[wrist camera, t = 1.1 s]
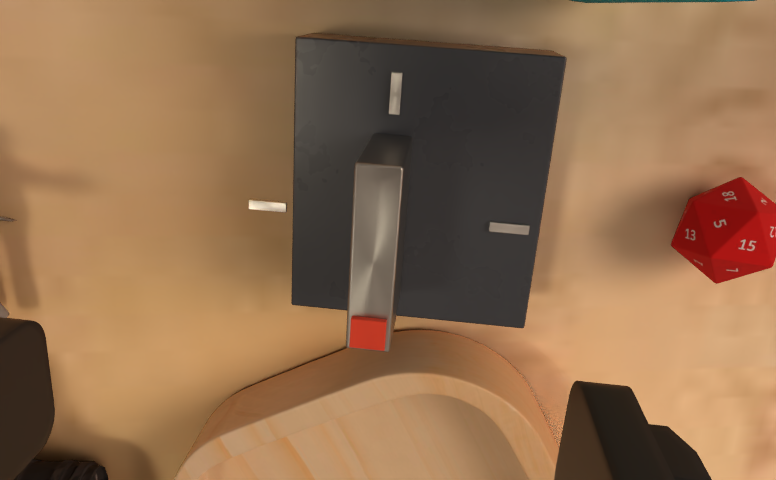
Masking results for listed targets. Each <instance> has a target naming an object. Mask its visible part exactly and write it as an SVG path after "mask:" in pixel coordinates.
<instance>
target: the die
mask: <svg viewBox="0 0 776 480" xmlns="http://www.w3.org/2000/svg"><path fill="white" fill-rule="evenodd" d="M671 246H672V247H673V248H674V249H676V250H677V251H678V252H679V253H680V254H681V255H683V256H684V257H685V258H686V259H687V260H688V261H690V262H691V263H692V264H693V265H694V266H695V267H697V268H698V269H699V270H700V271H701V272H703V273H704V274H705V275H706V276H707V277H708V278H710V279H711V280H712V281H713V282H714V283H721V282H724V281H728V280H731V279H734V278H738V277H741V276H744V275H748V274H751V273H754V272H758V271H761V270H765V269H768V268H771V267H772V266H773V264H774V261H775V258H776V204H775V203H774V202H772V201H771V200H770V199H769V198H767V197H766V196H765V195H764V194H762V193H761V192H760V191H759V190H757V189H756V188H755V187H754V186H752V185H751V184H750V183H749V182H747V181H746V180H745V179H744V178H742V177H739V178H736V179H734V180H732V181H729V182H727V183H725V184H722V185H720V186H718V187H715V188H713V189H711V190H708V191H706V192H704V193H701V194H699V195H697V196H694V197H692V198H690V199H689V200H688V203H687V205H686V208H685V210H684V213H683V215H682V218H681V220H680V223H679V225H678V228H677V230H676V233H675V235H674V238H673V240H672V243H671Z"/></svg>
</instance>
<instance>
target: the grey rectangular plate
mask: <svg viewBox="0 0 776 480" xmlns="http://www.w3.org/2000/svg"><path fill="white" fill-rule="evenodd" d="M412 141H413V139H412V137H410V136H400V135H388V134H376V133H375V134H373V135H372V137H371V139H370V140H369V142H368V143H367V145H366V147H365V148H364V150H363V152H362V153H361V155H360V157H359V158H358V160H357V162H356V163H355V169H354V190H353V210H352V230H351V251H350V271H349V292H348V312H347V332H346V347H347V348H352V349H362V350H371V351H381V352H389V351H390V347H391V341H392V336H393V330H394V325H395V319H396V314H397V308H398V303H399V297H400V291H401V278H402V266H403V253H404V241H405V228H406V216H407V203H408V191H409V178H410V166H411V153H412Z"/></svg>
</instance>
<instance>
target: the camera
mask: <svg viewBox="0 0 776 480" xmlns="http://www.w3.org/2000/svg"><path fill="white" fill-rule="evenodd" d="M14 480H108V476H107V473H106V470H105V467H103V466H100V465H98V464H97V463H96V462H94V461H85V462H78V461H76V460H64V461H63V462H47V461H41V460H37V459H32V460H31V462H30V463H29V464H28V465H27V466H26V467H25V468H24V469H23V470H22V471H21V472H20V473H19V474H18V475H17V476H16V478H15V479H14Z"/></svg>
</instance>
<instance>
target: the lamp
mask: <svg viewBox="0 0 776 480" xmlns="http://www.w3.org/2000/svg"><path fill="white" fill-rule="evenodd" d="M558 453H559V447H558V445H557V443H556V441H555V438H554V436H553V434H552V432H551V430H550V428H549V426H548V424H547V422H546V420H545V418H544V415H543V413H542V411H541V409H540V407H539V405H538V403H537V401H536V399H535V397H534V395H533V393H532V391H531V389H530V387H529V386H528V384H527V383H526V381H525V380H524V378H523V377H522V376H521V375H520V374H519V372H518V371H517V370H516V369H515V368H514V367H513V366H512V365H511V364H510V363H509V362H507V361H506V360H505V359H504V358H503V357H501V356H500V355H499V354H497V353H496V352H494V351H493V350H491V349H489V348H488V347H486V346H484V345H482V344H480V343H478V342H476V341H473V340H471V339H468V338H466V337H462V336H459V335H456V334H451V333H447V332H441V331H433V330H408V331H399V332H393V336H392V341H391V347H390V351H389V352H381V351H371V350H362V349H352V348H346V349H344V350H341V351H339V352H336V353H333V354H331V355H328V356H326V357H323V358H321V359H318V360H315V361H313V362H310V363H308V364H305V365H303V366H300V367H298V368H295V369H292V370H290V371H287V372H285V373H282V374H280V375H277V376H275V377H272V378H270V379H267V380H265V381H262V382H260V383H257V384H255V385H253V386H250V387H248V388H246V389H243V390H241V391H239V392H238V393H236V394H234V395H233V396H231V397H230V398H228V399H227V400H226V401H224V402H223V403H222V404H221V405H220V406H219V407H218V408H217V409H216V410H215V411H214V412H213V414H212V415H211V416H210V418H209V419H208V421H207V423H206V424H205V426H204V427H203V429H202V431H201V433H200V434H199V436H198V438H197V439H196V441H195V443H194V444H193V446H192V448H191V450H190V451H189V453H188V455H187V456H186V458H185V460H184V462H183V463H182V465H181V467H180V468H179V470H178V472H177V474H176V476H175V478H174V480H554V476H555V469H556V463H557V458H558Z"/></svg>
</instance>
